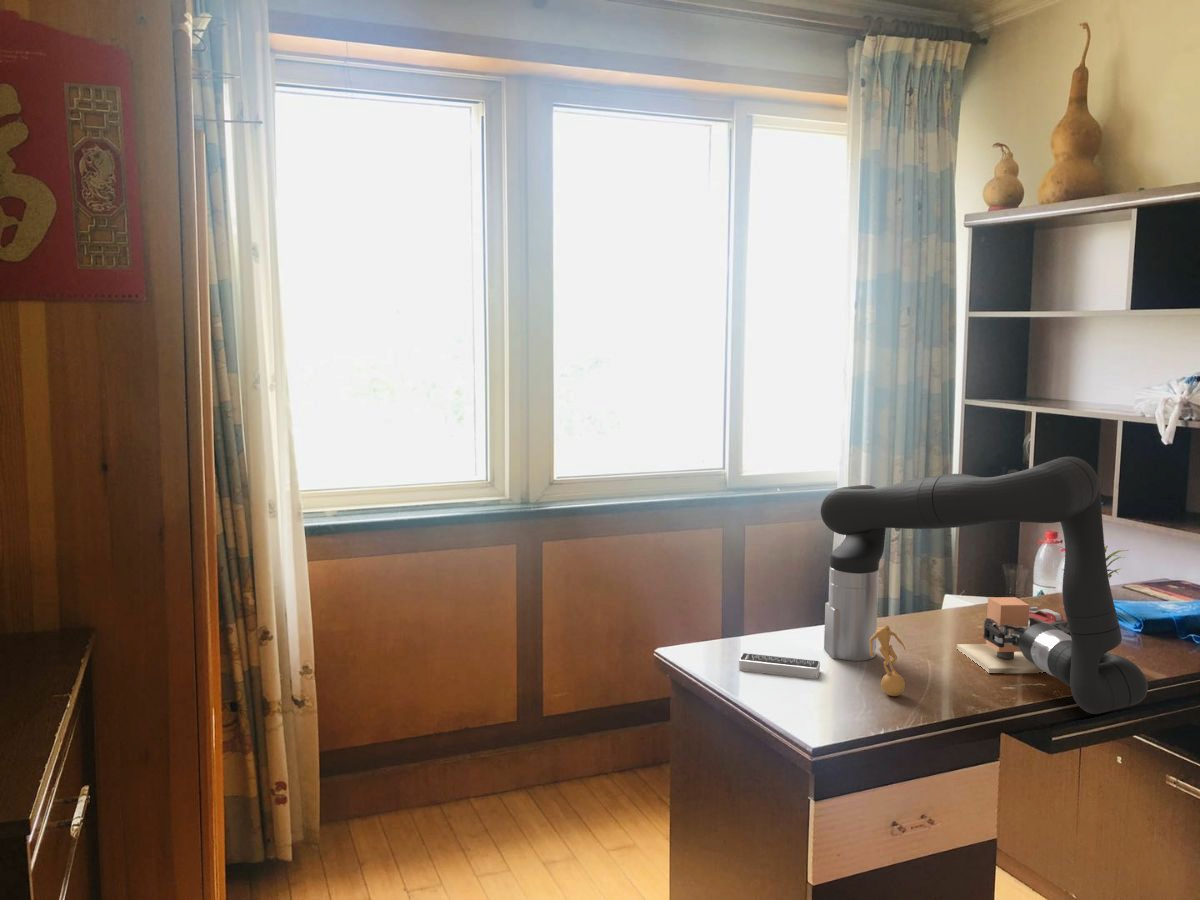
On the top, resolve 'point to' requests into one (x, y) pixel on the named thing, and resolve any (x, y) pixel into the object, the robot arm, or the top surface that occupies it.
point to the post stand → (998, 659)
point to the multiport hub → (779, 665)
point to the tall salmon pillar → (1007, 616)
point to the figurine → (891, 681)
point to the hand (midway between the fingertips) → (1009, 623)
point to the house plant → (1111, 561)
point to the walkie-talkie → (1047, 617)
